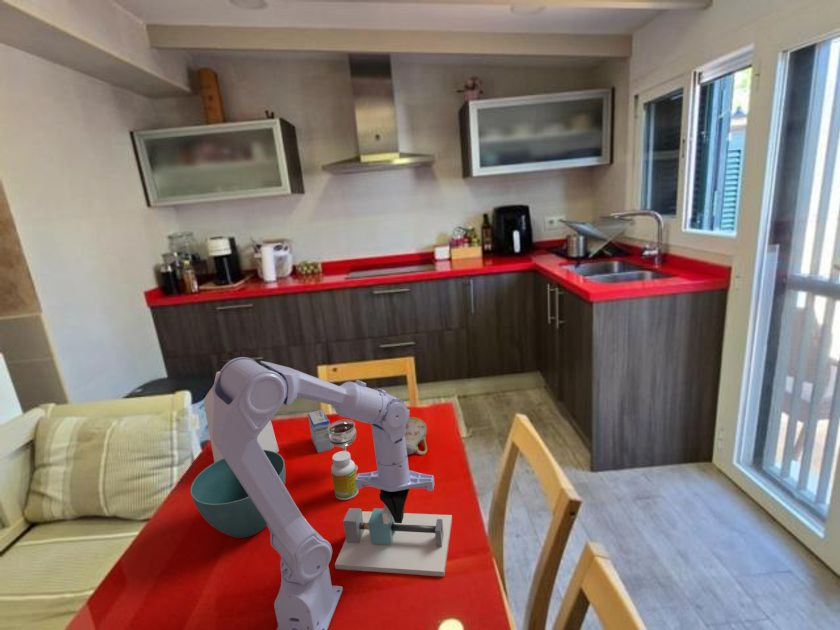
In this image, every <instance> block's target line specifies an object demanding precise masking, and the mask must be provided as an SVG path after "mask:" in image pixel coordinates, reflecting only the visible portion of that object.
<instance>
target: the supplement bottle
mask: <svg viewBox="0 0 840 630" xmlns="http://www.w3.org/2000/svg"><path fill="white" fill-rule="evenodd" d="M351 456H352V455H351V453H350V452H349V451H348V450H347V451H343V450H342V451H341V450H340V451H338V452H335V453H334V454H333V455H332V457H331V458H332V463H333V464H332V465H331V467H330V469H331V470H330V473H331V476H332V483H333V489H334V495H335V497H336V499H338V500H341V501H346V500H347V501H348V500H350V499H353V498H355V497H356V496H357V495H358V494H359V488H356V482H355V479H356V477H357V475H358V474H357V471H356V468H355V465H356V464H355V461H354V460H352V458H351Z"/></svg>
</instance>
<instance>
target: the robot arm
mask: <svg viewBox="0 0 840 630" xmlns="http://www.w3.org/2000/svg"><path fill="white" fill-rule="evenodd" d="M259 362H260V363H261V365H260V364H259V363H258V361H256V360H254V359H253V358H251V357H245V356H241V357H236V358H232V359H231V360H229V361H227V362H226V363H225V364H224V365H223V367H222V368H221V369H220V373H219V375H218V377H217V379H216V381H215V380H214V382H215V383H213V385H212V387H211V388H212V391H213V396H214V415H213V431H212V438H213V441H214V444H215V445H216V447H217V448H218V450H219V451H220V453H221V454H222V456H223V457H224V459H225V460H226V462H227V463H228V465H229V467H230V468H231V470H232V471H233V473H234V474H235V476H236V477H237V479H238V480H239V482H240V483H241V485H242V486H243V488H244V489H245V491H246V492H247V494H248V496H249V497H250V499H251V500H252V502H253V503H254V505H255V506H256V508H257V509H258V511H259V512H260V514H261V515H262V517H263V518H264V520H265V521H266V523H267V526H266V527H267V529H268V530H269V533H270V537H269V538H270V539H269V541H270V546H271V547H272V548H273V549H274V550H275V551H276V552H277V553H278V554H279V556H280V565H279V566H280V569H279V570H280V574H281V577H280V578H281V581H280V586H279V587H280V588H279V590H278V594H277V596H276V598H275V600H274V603H273V606H274V607H273V608H274V612H275V617H276V622H277V628H276V630H328V628H329V626H330V624H331V622H332V618H333V616H334V614H335V611H336V609H337V608H336V607H337V606H338V603H339V600H340V598H341V595H342V593H343V591H344V589H343V586H340V585H332V580H331V574H330V568H329V564H330V562H331V560H332V555H333V548H332V545H331V542H329V541H328V540H327V539H324V537H323V536H322V535H321V534H319V532H318V531H317V530H316V529H315V528H314V527H313V526H312V525H311V524H310V523H309V522H308V521H307V519H306V518H305V516H304V515H303V514H302V512H301V511H300V509H299V507H298V506H297V505H296V503H295V501H294V499H293V498H292V496H291V494H290V492H289V490H288V489H287V487H286V485H285V486H284V484H283V482H282V481H281V479H280V477H279V476H278V474H277V472H276V471H275V469H274V467H273V466H272V464H271V462H270V461H269V459H268V457H267V456H266V454H265V452H264V450H263V449H262V447H261V445H260V444H259V442H258V440H257V437H258V435H259V434H260V432H261V431H262V430H263V429H264V427H265V426H266V425H267V424H268V422H269V421H270V420H272V418H274V416H275V415H276V413H277V412H278V411H279V410H280V408H281V407H282V405H284V406H286V407H288V406H290V405H291V404H292V403H293V402H294V401H295V400H296V399H297V398H301V399H306V400H310V401H313V402H318V403H322V404H326V405H331V406H332V407H333V408H334V411H335V413H336V414H337V415H338V416H340V417H342V418H343V417H344V418H348V419H349V420H354V421H358V422H362V423H366V424H370V425H371V431H372V432H371V433H372V438H373V439H372V441H373V445H374V447H373V448H374V454H375V461H376V468H377V469H376V470H375V471H370V472H361V473H360V472H359V473H357V474H356V475H357V477H356V479H355V482H356V488H358V490H360V489H362V488H364V487H371V488H376V489H378V490H379V491H380V492H379V494H378V495H379V499H380V501H381V502H382V503H383V504H384V506H385V505H386V506H387V507H388V509H389V511H390V512H391V514H392V517H393V519H394V521H395V523H402V520H403V517H404V513H405V504H406V500H407V498H408V495H409V491H410V489H426V490H427V491H428V492H433V491H434V487H435V477H434V475H432V474H426V473H421V472H417V471H414V470H410V468H409V460H408V459H409V458H408V454H407V449H406V440H405V433H406V424H407V421H408V419H409V417H410V409H408V408H407V405H406V403H405V402H404V401H403V400H402V399H401V398H398V397H395V396H393V395H391V394H389V393H387V392H386V390H384V389H382V388H377V389H374V388H372V387H371V388H370V387H367V383H366V382H363V381H362V380H359V379H355V382H353V381H346V382H344V383H342V384H341V385H337V384H335V383H332V382H329V381H327V380H324V379H321V378H319V377H316V376H313V375H310V374H307V373H305V372H302V371H300V370H297V369H294V368H292V367H288V366H284V365H280V364H276V363H272V362H270V361H269V362H268V361H263V360H260V361H259Z"/></svg>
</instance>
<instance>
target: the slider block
mask: <svg viewBox="0 0 840 630" xmlns="http://www.w3.org/2000/svg"><path fill="white" fill-rule="evenodd" d="M371 512H372V514H371V517H370V520H369V522H368V526H369V532H370V539H371V543H374V544H392V541H393V538H392V533H395V531H392V530H391V526H392V524H395V521H394V519H393V517H392V514H391V512H390V511H389V509H388V507H387V506H386V505H385V504H384V507H383V508H374V507H373V509H372V511H371Z"/></svg>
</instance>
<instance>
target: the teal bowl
mask: <svg viewBox="0 0 840 630" xmlns="http://www.w3.org/2000/svg"><path fill="white" fill-rule="evenodd" d="M264 452H265V454H266V456H267V457H268V459H269V461H270V462H271V464H272V466H273V467H274V469H275V471H276V472H277V474H278V476H279V477H280V479H281V481H282V482H283V484H284V486H285V487H286V485H285V484H286V464H285V459H284V458H283V456H282V455H281V454H280V453H278V452H277V453H276V452H273V451H269V450H264ZM190 495H191V498H192V501H193V503H194V504H195V507H196V509H197V511H198V512H199V513H200V515H201V516H202V517H203V519H204V520H205V521H206V522H207V523H208V525H210V527H211V526H212V528H214V529H215V530H217V531H218V532H220V533H222V534H224V535H227V536H230V537H233V538H238V539H239V538H241V539H243V538H249V537H251V536H254V535H257V534H258V533H260V532H262V531H263V530H264V529H266V527H267V523H266V521H265V520H264V518H263V517H262V515H261V514H260V512H259V511H258V509H257V508H256V506H255V505H254V503H253V502H252V500H251V499H250V497H249V496H248V494H247V492H246V491H245V489H244V488H243V486H242V485H241V483H240V482H239V480H238V479H237V477H236V476H235V474H234V473H233V471H232V470H231V468H230V467H229V465H228V463H227V462H226V460H225V459H224V458H223V459H221V460H218V461H217V462H215V463H214V462H213V463H212V464H209V466H207V467H206V468H204V469H203V470H202V471H201V472H200V473H198V475H196V477H195V478H194V479H193V481H192V484H191V487H190Z"/></svg>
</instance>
